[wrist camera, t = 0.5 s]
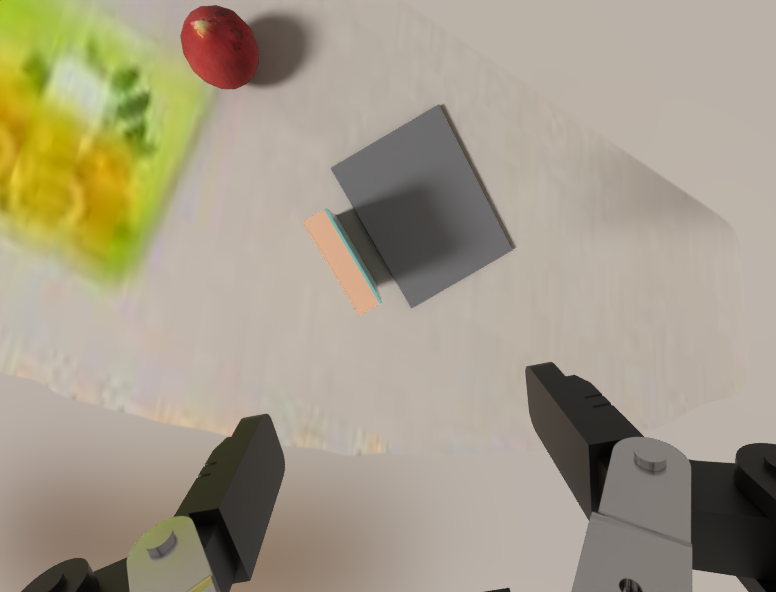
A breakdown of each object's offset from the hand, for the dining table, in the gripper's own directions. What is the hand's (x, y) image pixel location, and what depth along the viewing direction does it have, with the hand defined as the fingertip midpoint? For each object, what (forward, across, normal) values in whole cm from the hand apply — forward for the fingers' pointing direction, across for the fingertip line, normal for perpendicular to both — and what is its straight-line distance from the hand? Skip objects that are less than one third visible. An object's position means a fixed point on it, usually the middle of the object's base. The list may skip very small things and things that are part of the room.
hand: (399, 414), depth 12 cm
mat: (+30, -4, -2) cm, 30 cm away
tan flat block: (+28, +4, 0) cm, 29 cm away
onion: (+31, +10, -19) cm, 37 cm away
